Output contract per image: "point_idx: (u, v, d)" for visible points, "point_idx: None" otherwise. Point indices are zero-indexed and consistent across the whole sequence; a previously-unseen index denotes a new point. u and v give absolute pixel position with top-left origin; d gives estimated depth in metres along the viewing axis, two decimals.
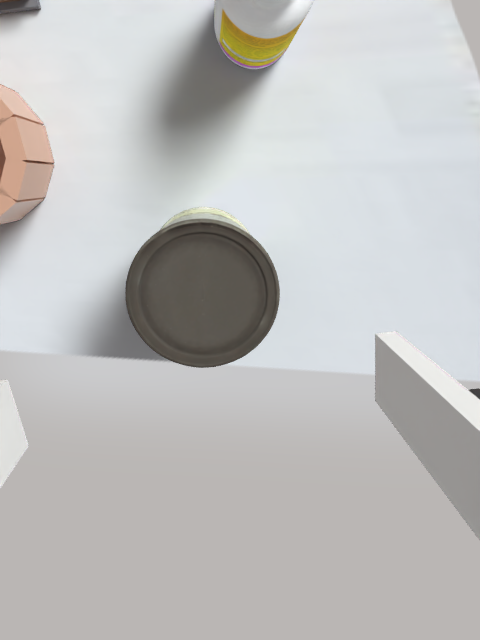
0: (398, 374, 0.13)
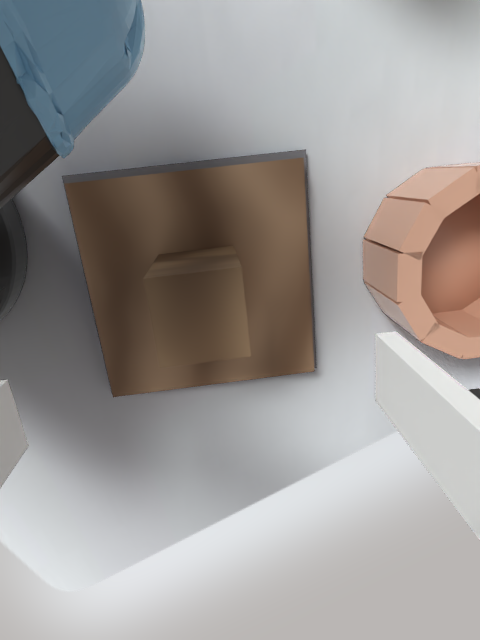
0: (398, 374, 0.13)
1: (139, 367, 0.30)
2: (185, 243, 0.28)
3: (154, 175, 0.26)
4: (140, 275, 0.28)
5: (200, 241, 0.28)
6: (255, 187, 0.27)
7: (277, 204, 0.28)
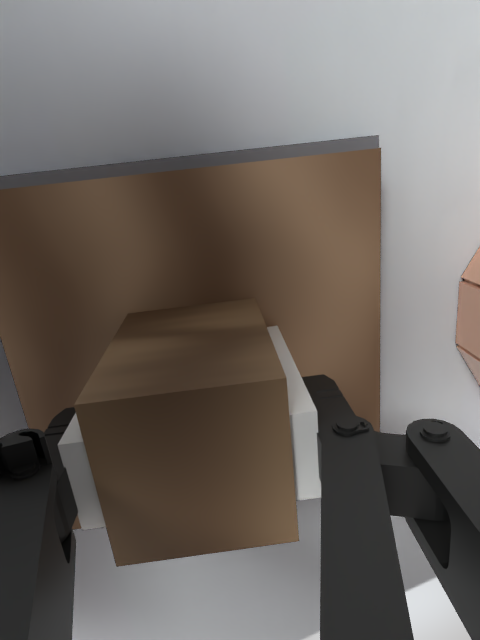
0: None
1: None
2: (173, 294, 0.16)
3: (117, 179, 0.15)
4: (98, 347, 0.17)
5: (199, 292, 0.16)
6: (294, 199, 0.16)
7: (331, 230, 0.16)
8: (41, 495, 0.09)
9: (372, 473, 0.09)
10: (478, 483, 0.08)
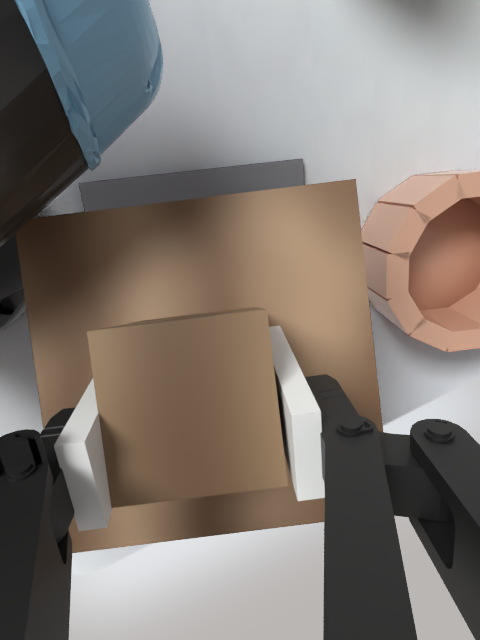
0: None
1: None
2: (183, 303, 0.19)
3: (141, 207, 0.18)
4: None
5: (205, 301, 0.19)
6: (286, 221, 0.18)
7: (319, 246, 0.19)
8: (37, 496, 0.09)
9: (376, 473, 0.08)
10: None
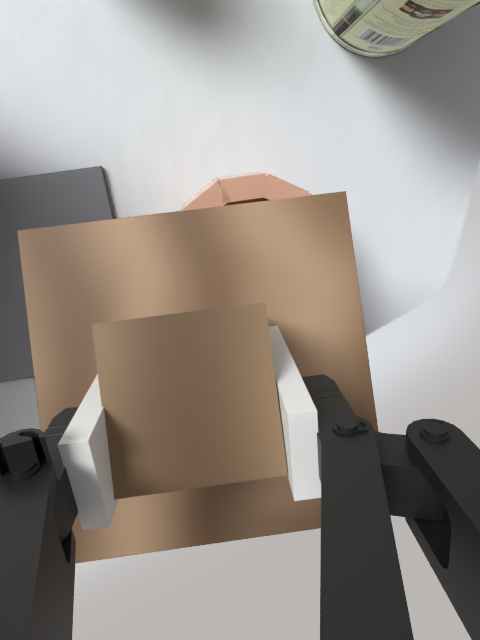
0: None
1: None
2: (182, 309, 0.19)
3: (141, 218, 0.19)
4: None
5: (204, 307, 0.19)
6: (280, 230, 0.19)
7: (312, 254, 0.19)
8: (41, 495, 0.09)
9: (372, 473, 0.09)
10: (478, 483, 0.08)
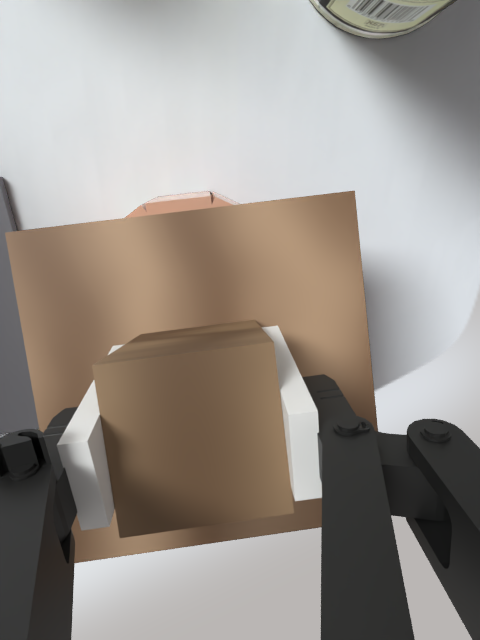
0: None
1: None
2: (181, 316, 0.18)
3: (137, 219, 0.18)
4: None
5: (204, 314, 0.18)
6: (285, 233, 0.18)
7: (318, 258, 0.19)
8: (40, 495, 0.09)
9: (373, 473, 0.09)
10: (479, 483, 0.08)
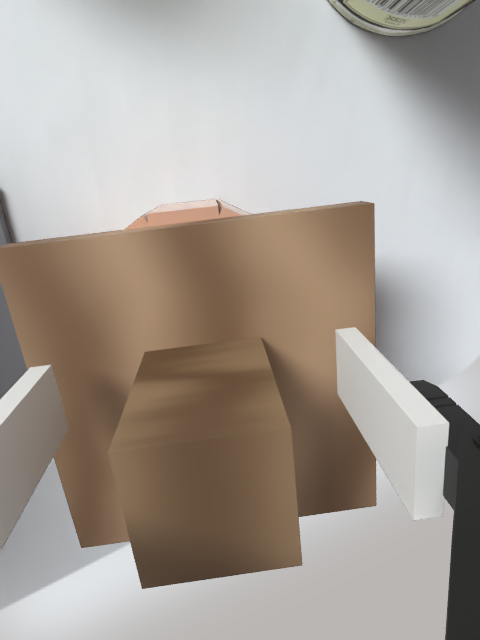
0: (352, 367, 0.14)
1: (119, 508, 0.20)
2: (186, 334, 0.18)
3: (136, 234, 0.16)
4: (117, 382, 0.18)
5: (210, 332, 0.18)
6: (296, 249, 0.17)
7: (329, 275, 0.18)
8: None
9: None
10: None
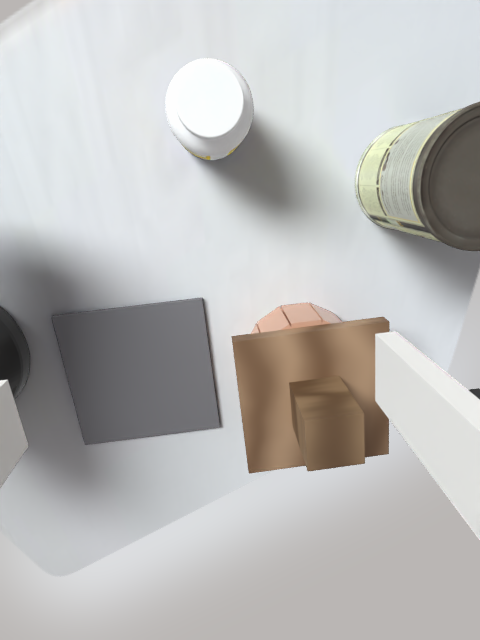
0: (399, 374, 0.13)
1: (268, 453, 0.44)
2: (307, 375, 0.41)
3: (291, 335, 0.40)
4: (275, 395, 0.42)
5: (317, 374, 0.41)
6: (356, 340, 0.41)
7: (370, 350, 0.41)
8: None
9: None
10: None
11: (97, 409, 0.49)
